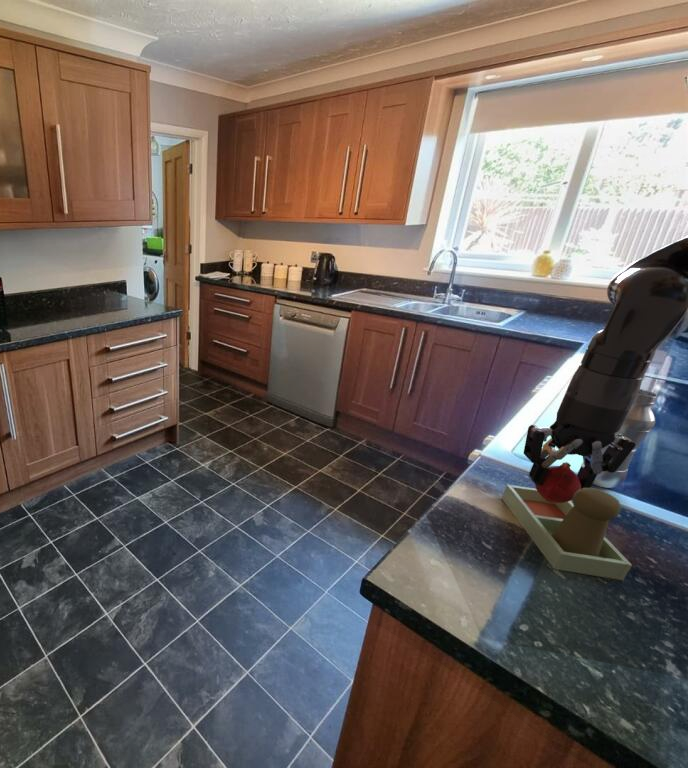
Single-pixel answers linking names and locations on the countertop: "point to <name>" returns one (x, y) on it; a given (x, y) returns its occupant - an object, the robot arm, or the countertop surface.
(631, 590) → the countertop surface
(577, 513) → the cork
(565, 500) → the red round fruit
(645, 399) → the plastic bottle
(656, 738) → the countertop surface
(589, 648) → the countertop surface
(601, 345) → the robot arm
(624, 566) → the sorter
